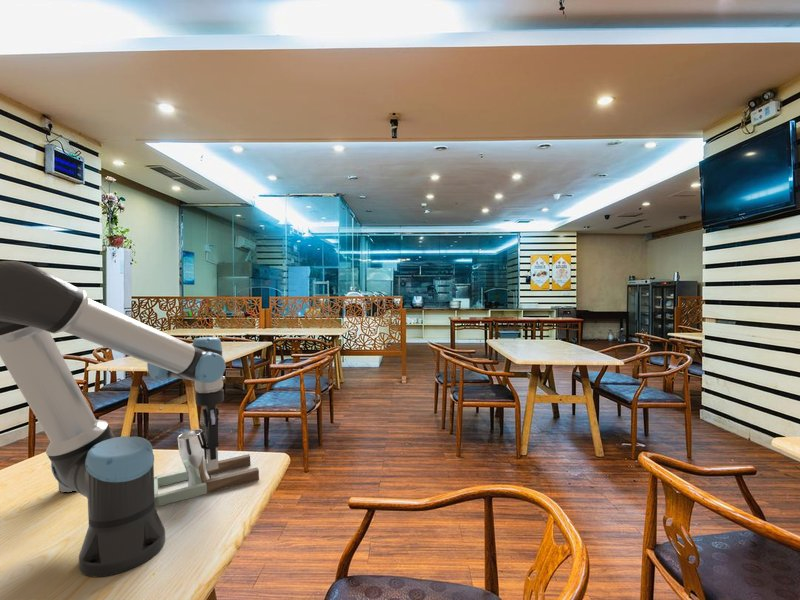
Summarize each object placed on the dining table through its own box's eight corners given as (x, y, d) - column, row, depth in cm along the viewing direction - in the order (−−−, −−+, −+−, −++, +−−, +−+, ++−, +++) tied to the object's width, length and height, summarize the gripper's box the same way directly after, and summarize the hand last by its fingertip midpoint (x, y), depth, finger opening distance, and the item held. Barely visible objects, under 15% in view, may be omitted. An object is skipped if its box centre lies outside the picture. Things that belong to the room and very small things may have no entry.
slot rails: (259, 479, 117) (258, 469, 117) (206, 493, 110) (206, 482, 110) (249, 463, 129) (248, 454, 129) (201, 474, 122) (201, 464, 122)
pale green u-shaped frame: (206, 493, 110) (206, 484, 110) (151, 507, 103) (151, 498, 103) (201, 474, 122) (201, 466, 122) (151, 486, 115) (151, 477, 115)
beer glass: (217, 475, 119) (208, 427, 117) (205, 488, 112) (195, 438, 110) (195, 477, 119) (185, 430, 117) (181, 491, 112) (171, 441, 110)
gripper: (226, 392, 113) (230, 473, 114) (220, 383, 124) (223, 458, 125) (197, 396, 109) (201, 481, 110) (193, 387, 120) (197, 464, 121)
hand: (213, 468), depth 117 cm, fingers closed
